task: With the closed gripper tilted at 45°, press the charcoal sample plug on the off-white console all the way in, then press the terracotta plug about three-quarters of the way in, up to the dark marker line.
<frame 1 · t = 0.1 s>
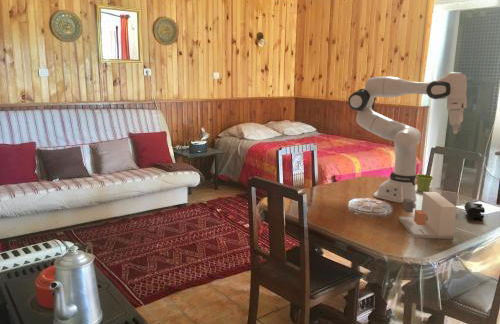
hand: (456, 132, 208), 39 cm above the table, tool pointing down, fingers open, 8 cm apart
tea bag: (447, 211, 209), on the table
plant pot: (423, 190, 245), on the table
terracotta plug: (421, 217, 175), point 8 cm above the table, slide at 0.0 cm
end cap: (473, 218, 199), on the table
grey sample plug: (409, 205, 191), point 8 cm above the table, slide at 0.0 cm
plug console: (424, 228, 184), on the table
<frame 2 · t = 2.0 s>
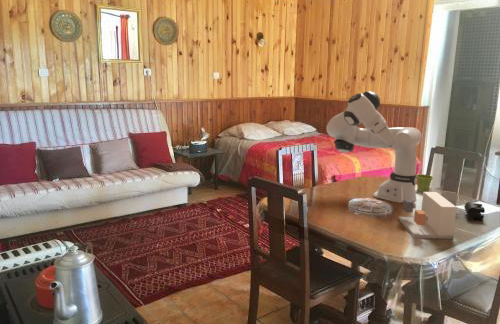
hand: (394, 147, 187), 35 cm above the table, tool tilted 40°, fingers open, 8 cm apart
nothing on the table moved.
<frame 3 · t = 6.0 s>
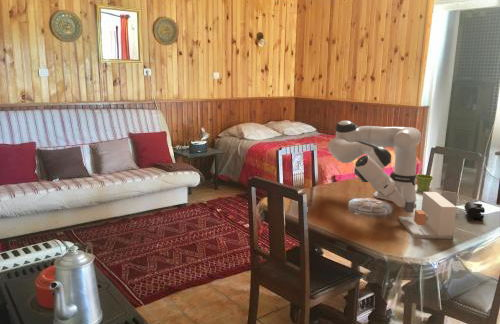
hand: (404, 205, 191), 8 cm above the table, tool tilted 45°, fingers closed, pressing on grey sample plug
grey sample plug: (410, 205, 191), point 8 cm above the table, slide at 0.3 cm, touching gripper
everything else where it was.
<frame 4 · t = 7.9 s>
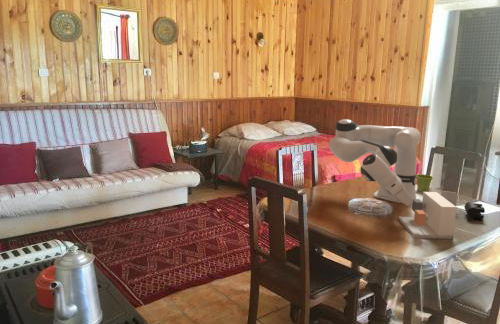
hand: (410, 204, 190), 9 cm above the table, tool tilted 45°, fingers closed
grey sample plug: (418, 205, 190), point 8 cm above the table, slide at 4.1 cm
everything else where it was.
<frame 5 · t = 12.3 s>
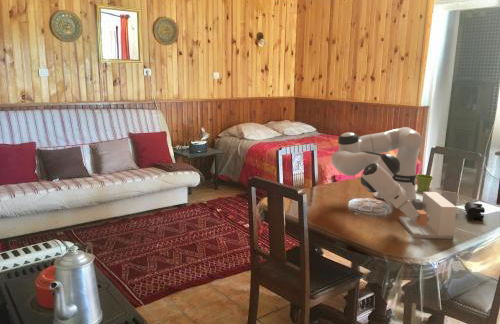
hand: (416, 217, 175), 8 cm above the table, tool tilted 45°, fingers closed, pressing on terracotta plug
terracotta plug: (423, 217, 175), point 8 cm above the table, slide at 0.5 cm, touching gripper
everything else where it was.
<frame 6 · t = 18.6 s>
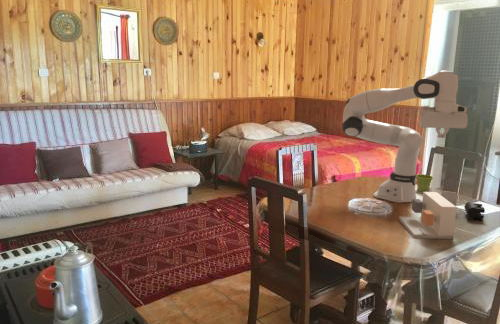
hand: (441, 137, 189), 39 cm above the table, tool pointing down, fingers closed
terracotta plug: (429, 217, 175), point 8 cm above the table, slide at 3.3 cm
everything else where it was.
at the end: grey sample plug slide at 4.1 cm; terracotta plug slide at 3.3 cm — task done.
